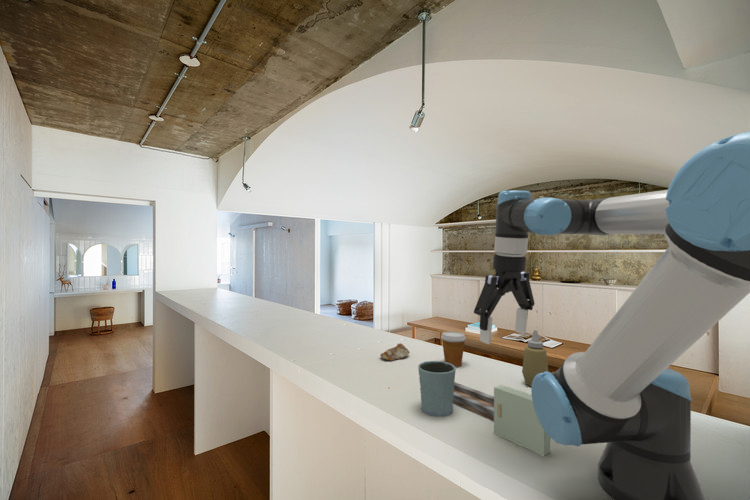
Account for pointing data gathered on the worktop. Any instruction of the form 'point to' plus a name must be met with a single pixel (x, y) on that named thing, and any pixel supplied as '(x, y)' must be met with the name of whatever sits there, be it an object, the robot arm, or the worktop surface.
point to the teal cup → (437, 387)
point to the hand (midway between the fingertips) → (503, 337)
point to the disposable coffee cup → (453, 347)
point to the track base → (474, 400)
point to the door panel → (519, 420)
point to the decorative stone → (395, 353)
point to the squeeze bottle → (534, 359)
